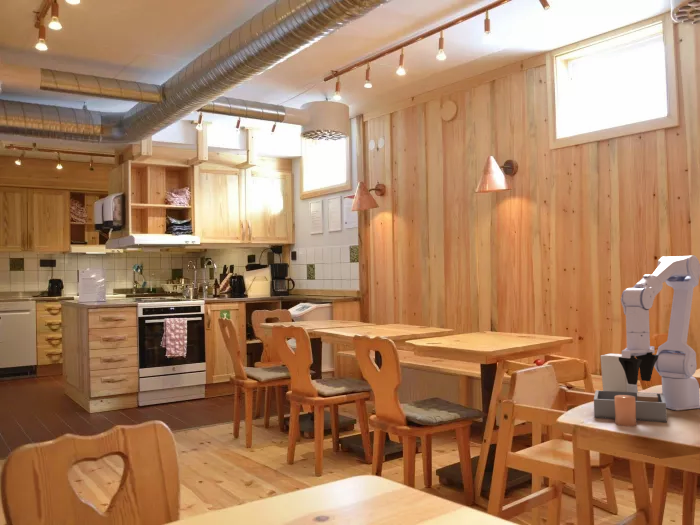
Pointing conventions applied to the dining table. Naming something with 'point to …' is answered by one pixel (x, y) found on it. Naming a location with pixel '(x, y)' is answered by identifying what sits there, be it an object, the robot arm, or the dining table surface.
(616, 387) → the skincare box
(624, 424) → the terracotta cylinder
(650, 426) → the dining table surface
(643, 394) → the walnut block
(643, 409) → the tote
